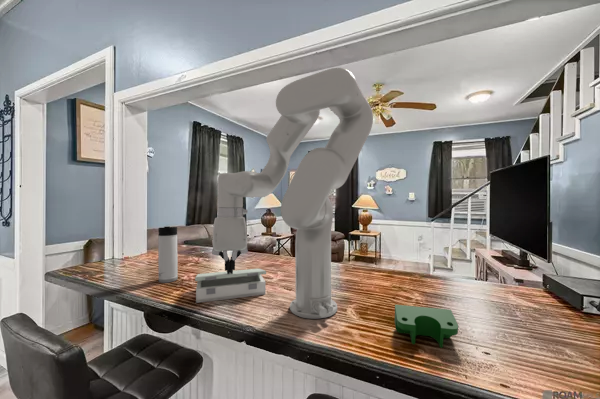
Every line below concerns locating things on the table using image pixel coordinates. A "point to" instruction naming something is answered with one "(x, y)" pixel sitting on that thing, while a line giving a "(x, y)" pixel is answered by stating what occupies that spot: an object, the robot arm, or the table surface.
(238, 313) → the table surface
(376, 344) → the table surface
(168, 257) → the travel mug
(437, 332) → the clamp
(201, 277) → the cover
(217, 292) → the white latched case
